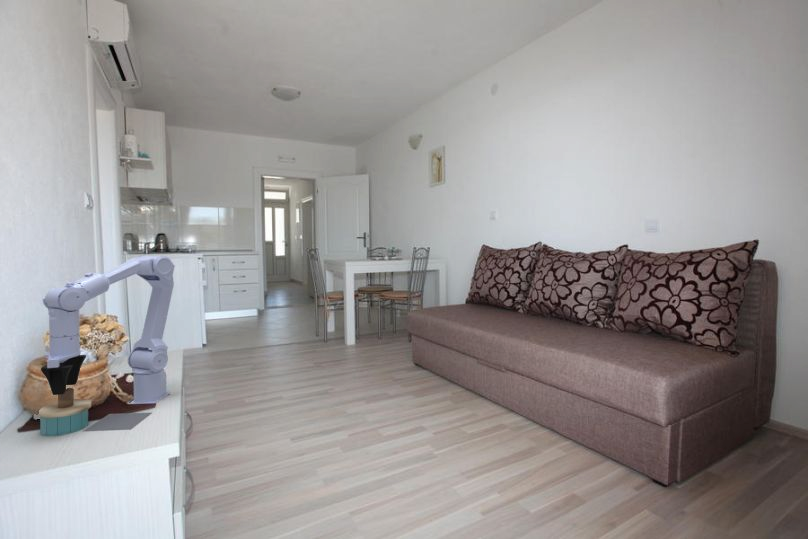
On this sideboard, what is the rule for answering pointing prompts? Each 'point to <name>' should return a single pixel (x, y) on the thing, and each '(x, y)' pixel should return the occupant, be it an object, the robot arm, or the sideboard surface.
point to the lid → (65, 406)
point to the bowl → (63, 424)
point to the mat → (118, 422)
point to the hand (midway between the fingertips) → (65, 389)
